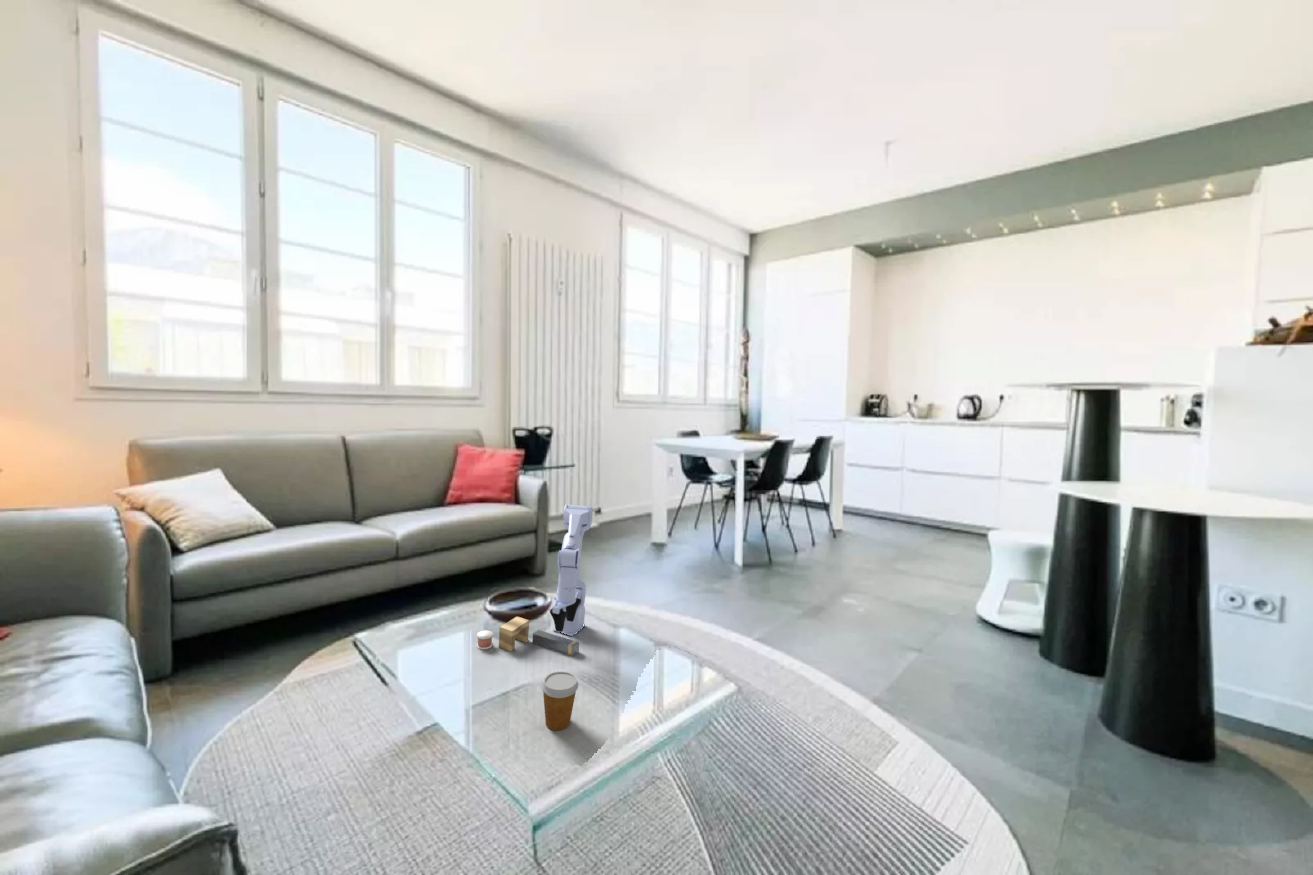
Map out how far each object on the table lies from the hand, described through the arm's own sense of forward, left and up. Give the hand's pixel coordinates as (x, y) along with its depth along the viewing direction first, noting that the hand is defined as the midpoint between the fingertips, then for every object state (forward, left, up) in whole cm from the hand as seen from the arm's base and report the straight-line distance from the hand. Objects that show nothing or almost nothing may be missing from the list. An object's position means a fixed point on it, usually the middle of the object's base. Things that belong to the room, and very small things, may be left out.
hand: (564, 625), depth 180 cm
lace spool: (+9, -24, -9) cm, 27 cm away
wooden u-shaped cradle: (+3, -17, -9) cm, 20 cm away
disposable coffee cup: (+30, +18, -10) cm, 37 cm away
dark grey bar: (-2, -4, -10) cm, 10 cm away
